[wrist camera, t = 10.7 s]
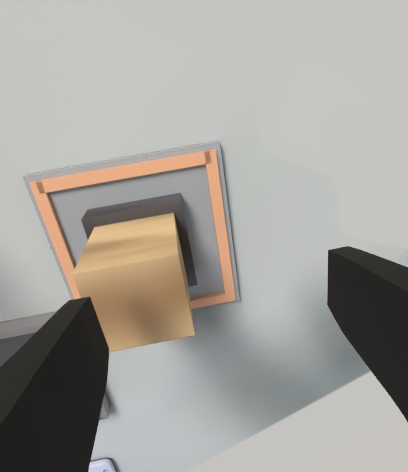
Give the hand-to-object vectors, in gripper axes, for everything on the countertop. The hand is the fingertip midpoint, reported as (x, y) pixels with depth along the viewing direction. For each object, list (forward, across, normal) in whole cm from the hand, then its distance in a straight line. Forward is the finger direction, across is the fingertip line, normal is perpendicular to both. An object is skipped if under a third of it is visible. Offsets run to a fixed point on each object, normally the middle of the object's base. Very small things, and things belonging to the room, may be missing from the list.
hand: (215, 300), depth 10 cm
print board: (+9, +3, +2) cm, 10 cm away
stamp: (+9, +3, +2) cm, 10 cm away
